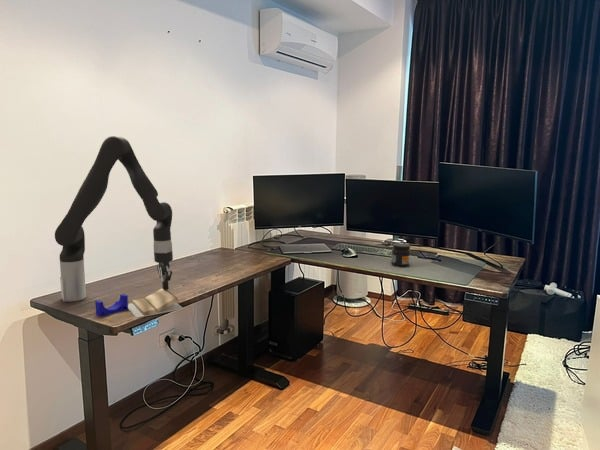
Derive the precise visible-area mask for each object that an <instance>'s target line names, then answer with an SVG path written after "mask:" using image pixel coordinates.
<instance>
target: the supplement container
mask: <svg viewBox="0 0 600 450" xmlns="http://www.w3.org/2000/svg"><path fill="white" fill-rule="evenodd" d="M410 249H411V245H410V244H408V243H402V242H397V243H393V245H392V249H391V265H392V266H393V265H394V267H396V266H398V268H408V267H409V266H410V264H411V253H412V252H411V250H410ZM407 266H408V267H407Z"/></svg>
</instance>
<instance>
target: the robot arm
mask: <svg viewBox="0 0 600 450" xmlns="http://www.w3.org/2000/svg"><path fill="white" fill-rule="evenodd" d="M130 143H131V142H129V140H128V139H126V138H124V137H123V136H117V135H110V136H108V137H106V138H105V139H104V140H103V141H102V143H101V146H100V148H99V151H98V153H97V155H96V158H95V160H94V162H93V164H92V166H91V168H90V170H89V171H88V173H87V175H86V177H85V178H84V180H83V182H82V184H81V186H80V188H79V189H78V192H77V194H76V195H75V197H74V200H73V201H72V203H71V205H70V208H69V209H68V212H67V213H66V215H65V216H64V217H63V219H62V221H61V222H60V223H59V224H58V225H57V228H56V229H55V231H54V239H55V242H56V244H58V245H60V246H61V247H62V248H61V252H60V253H59V266H60V267H59V268H60V270H59V271H60V278H59V279H60V281H59V282H60V291H61V292H60V293H61V300H62V301H63V302H65V303H66V302H69V303H70V302H78V301H81V300H84V299H86V298H87V292H86V291H87V290H86V274H85V272H86V271H85V260H84V259H85V257H84V256H85V250H86V246H85V245H86V243H85V241H86V235H85V230H84V227H83V224H84V222H85V221H86V219H87V218H88V217H89V216H90V215H91V214H92V212H93V211H94V210H95V209H96V208H97V206H98V205H99V204H100V202H101V201H102V199H103V198H104V195H105V193H106V191H107V189H108V184H109V177H110V174H111V171H112V169H113V168H114V166H115V164H116V162H117V161H119V162H120V163H121V165H123V168H124V169H125V170H126V172H127V175H128V177H129V179H130V182H131V184H132V186H133V188H134V189H135V192H136V193H137V195H138V196H139V198H140V199H141V200H142V202H143V206H144V208H145V211H146V212H147V215H148V216H149V218H151V220H153V221H154V222H155V221H156V225H155V226H154V227H153V231H152V232H153V233H152V235H153V257H154V259H153V261H154V262H155V263H158V264H157V265H156V268H157V272H158V276H159V279H160V281H161V286H162V287H161V288H162V289H163V290H168V291H169V282H170V281H171V279H172V275H173V271H172V270H171V265H170V262H172V261H173V260H174V257H173V254H174V253H173V242H172V232H171V227H172V222H173V221H172V220H173V209H172V207H171V205H170V204H169V203H167V202H160V201H159V199H158V196H159V192H158V191H157V188H156V187H155V186H154V184H153V183H152V182H151V180H150V178H149V177H148V176H147V174H146V173H145V171H144V169H143V167H142V166H141V163H140V162H139V160H138V158H137V157H136V154H135V151H134V149H133V147H132V145H131V144H130Z"/></svg>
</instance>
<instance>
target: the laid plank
mask: <svg viewBox="0 0 600 450" xmlns="http://www.w3.org/2000/svg"><path fill="white" fill-rule="evenodd" d="M131 301H132V302H131V303H133V305H134V306H135V307H136V308H137V309H138V310H139V311H140V312H141V313H142V314H143V315H149V314H154V313H157V312H156V308H155V307H153V306H152V305H151V304H150V303H149V302H148V301H147V300H146V299H145V297H142V298H137V299H132V300H131Z"/></svg>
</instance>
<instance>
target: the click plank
mask: <svg viewBox="0 0 600 450" xmlns="http://www.w3.org/2000/svg"><path fill="white" fill-rule="evenodd" d="M144 298H145V299H146V300H147V301H148V302H149V303H150V304H151V305H152V306H153V307H155V308H156V310H157V311H158V312H159V311H161V310H163V309H164V308H166V307H168V306H170V305H171V304H173V303H175V302H176V303H177V302H178V301H179V299H178V296H176V295H174V293H172V292H170V290H169V289H168V290H163V289H162V287H161V288H160V289H158V290H156V291H155V292H152V293H151V294H149V295H147V296H145V297H144Z"/></svg>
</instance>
